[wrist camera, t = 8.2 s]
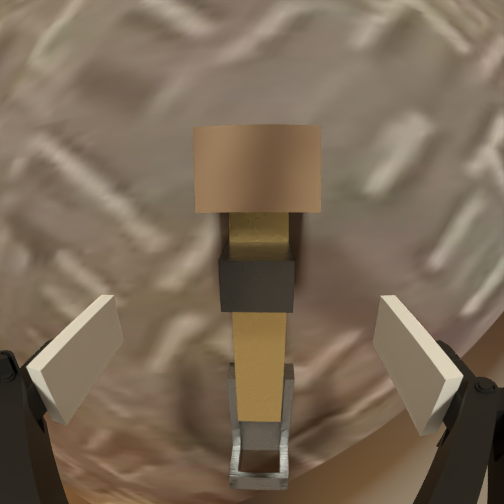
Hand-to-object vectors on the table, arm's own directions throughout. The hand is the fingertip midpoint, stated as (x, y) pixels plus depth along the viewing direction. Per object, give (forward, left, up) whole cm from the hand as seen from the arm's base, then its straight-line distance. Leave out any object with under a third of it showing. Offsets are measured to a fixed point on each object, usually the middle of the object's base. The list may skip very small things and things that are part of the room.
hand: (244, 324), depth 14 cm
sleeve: (0, -19, -13) cm, 23 cm away
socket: (0, +7, -13) cm, 15 cm away
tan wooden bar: (0, -3, -12) cm, 12 cm away
